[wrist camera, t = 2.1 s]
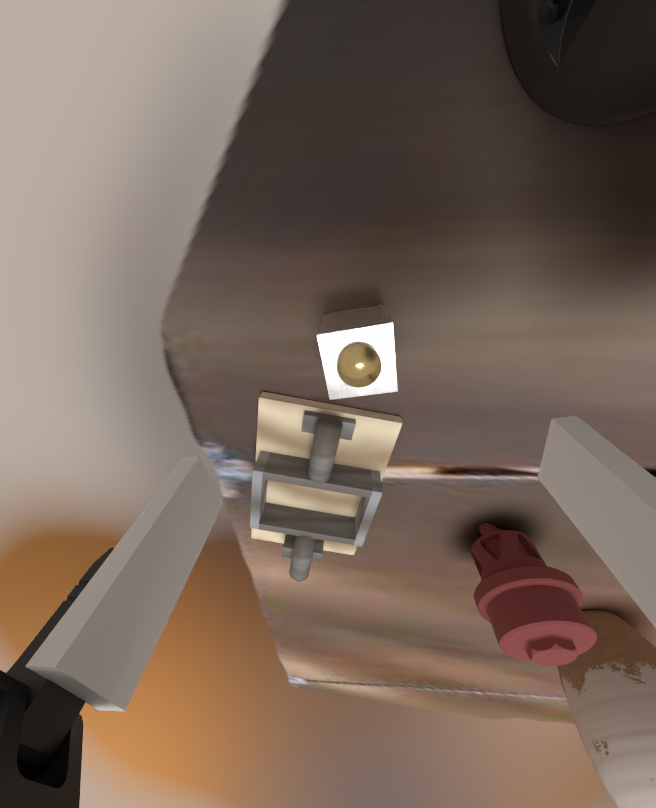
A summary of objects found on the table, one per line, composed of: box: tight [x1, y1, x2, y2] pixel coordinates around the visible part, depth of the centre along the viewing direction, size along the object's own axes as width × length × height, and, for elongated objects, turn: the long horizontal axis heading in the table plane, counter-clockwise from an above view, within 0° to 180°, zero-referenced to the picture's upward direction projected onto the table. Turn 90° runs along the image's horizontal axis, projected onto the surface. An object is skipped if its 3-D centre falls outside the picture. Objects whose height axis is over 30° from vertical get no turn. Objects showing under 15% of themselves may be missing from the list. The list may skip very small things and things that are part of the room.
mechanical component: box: [471, 523, 597, 666], centre depth 31 cm, size 12×10×10 cm
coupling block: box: [317, 304, 398, 400], centre depth 22 cm, size 5×5×7 cm
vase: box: [557, 610, 656, 808], centre depth 36 cm, size 16×16×23 cm
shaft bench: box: [250, 392, 402, 581], centre depth 32 cm, size 22×14×6 cm, turn 170°
